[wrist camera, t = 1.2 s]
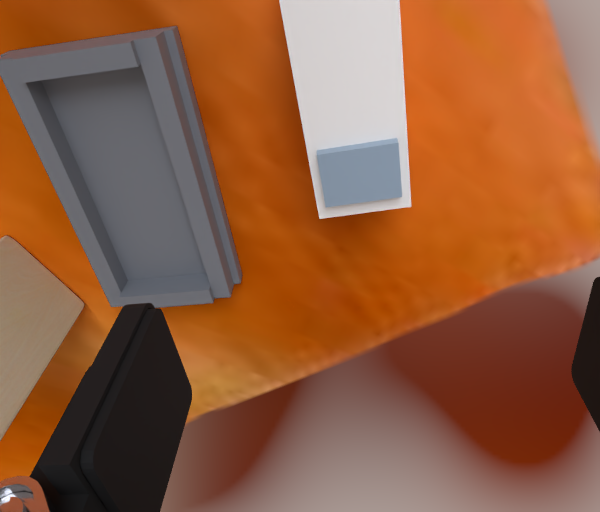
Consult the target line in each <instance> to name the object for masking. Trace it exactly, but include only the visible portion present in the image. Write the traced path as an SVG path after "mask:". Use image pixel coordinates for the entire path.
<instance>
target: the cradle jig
mask: <svg viewBox="0 0 600 512" xmlns="http://www.w3.org/2000/svg"><path fill="white" fill-rule="evenodd" d="M0 56H1V58H0V76H1V78H2V80H3V82H4V84H5V86H6V88H7V90H8V92H9V94H10V96H11V99H12V101H13V103H14V105H15V107H16V109H17V111H18V113H19V115H20V117H21V119H22V122H23V124H24V126H25V128H26V130H27V132H28V134H29V136H30V138H31V140H32V142H33V145H34V147H35V149H36V151H37V153H38V155H39V157H40V159H41V161H42V163H43V165H44V167H45V170H46V172H47V174H48V176H49V178H50V180H51V182H52V184H53V186H54V188H55V190H56V193H57V195H58V197H59V199H60V201H61V203H62V205H63V207H64V209H65V211H66V213H67V216H68V218H69V220H70V222H71V224H72V226H73V228H74V230H75V232H76V234H77V236H78V239H79V241H80V243H81V245H82V247H83V249H84V251H85V253H86V255H87V257H88V259H89V262H90V264H91V266H92V268H93V270H94V272H95V274H96V276H97V278H98V280H99V282H100V285H101V287H102V289H103V291H104V293H105V295H106V297H107V299H108V301H109V303H110V305H111V307H118V306H123V307H124V306H125V305H127V304H140V303H152V304H153V305H154V307H155V308H159V307H171V306H183V305H195V304H207V303H213V302H214V298H226V297H231V294H232V290H233V286H234V284H239V283H241V279H242V272H241V268H240V264H239V260H238V256H237V253H236V249H235V245H234V241H233V237H232V233H231V230H230V226H229V222H228V218H227V214H226V211H225V207H224V203H223V199H222V195H221V191H220V188H219V184H218V180H217V176H216V172H215V169H214V165H213V161H212V157H211V153H210V150H209V146H208V142H207V138H206V134H205V130H204V127H203V123H202V119H201V115H200V111H199V108H198V104H197V100H196V96H195V92H194V88H193V85H192V81H191V77H190V73H189V69H188V66H187V62H186V58H185V54H184V50H183V46H182V43H181V39H180V35H179V31H178V27H177V26H172V27H166V28H159V29H152V30H146V31H139V32H132V33H126V34H119V35H112V36H106V37H99V38H92V39H85V40H79V41H72V42H65V43H59V44H52V45H45V46H39V47H32V48H25V49H19V50H12V51H8V52H6V53H4V54H1V55H0Z"/></svg>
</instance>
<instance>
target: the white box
mask: <svg viewBox="0 0 600 512" xmlns="http://www.w3.org/2000/svg"><path fill="white" fill-rule="evenodd" d="M279 2H280V8H281V13H282V19H283V24H284V29H285V35H286V40H287V46H288V51H289V57H290V62H291V67H292V73H293V78H294V84H295V89H296V95H297V100H298V106H299V111H300V116H301V122H302V127H303V133H304V138H305V144H306V149H307V154H308V160H309V165H310V171H311V176H312V182H313V187H314V193H315V198H316V203H317V209H318V214H319V219H323V218H331V217H338V216H345V215H353V214H360V213H368V212H375V211H383V210H390V209H397V208H405V207H411V192H410V175H409V157H408V140H407V123H406V106H405V88H404V71H403V54H402V36H401V19H400V2H399V0H279Z"/></svg>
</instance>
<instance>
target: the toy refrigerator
mask: <svg viewBox="0 0 600 512" xmlns="http://www.w3.org/2000/svg"><path fill="white" fill-rule="evenodd" d="M83 308H84V303H83V302H82V301H81V299H80V298H78V297H77V296H76V295H75V294H74V293H73V292H72V291H71V290H70V289H69V288H68V287H66V286H65V285H64V284H63V283H62V282H61V281H60V280H59V279H58V278H57V277H55V276H54V275H53V274H52V273H51V272H50V271H49V270H48V269H47V268H45V267H44V266H43V265H42V264H41V263H40V262H39V261H38V260H36V259H35V258H34V257H33V256H32V255H31V254H30V253H29V252H28V251H27V250H25V249H24V248H23V247H22V246H21V245H20V244H19V243H18V242H16V241H15V240H14V239H13V238H11V237H9V236H4V237H2V238H1V239H0V441H1V439H2V438H3V436H4V434H5V433H6V431H7V429H8V428H9V426H10V425H11V423H12V421H13V420H14V418H15V417H16V415H17V413H18V412H19V410H20V409H21V407H22V405H23V404H24V402H25V401H26V399H27V397H28V396H29V394H30V393H31V391H32V389H33V388H34V386H35V385H36V383H37V381H38V380H39V378H40V377H41V375H42V373H43V372H44V370H45V369H46V367H47V365H48V364H49V362H50V361H51V359H52V357H53V356H54V354H55V353H56V351H57V350H58V348H59V346H60V345H61V343H62V342H63V340H64V338H65V337H66V335H67V333H68V332H69V330H70V329H71V327H72V326H73V324H74V322H75V321H76V319H77V317H78V316H79V314H80V313H81V311H82V309H83Z"/></svg>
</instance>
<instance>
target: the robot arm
mask: <svg viewBox="0 0 600 512" xmlns="http://www.w3.org/2000/svg"><path fill="white" fill-rule="evenodd" d="M572 378H573V381H574V383H575V385H576V388H577V390H578V391H579V393H580V395H581V397H582V399H583V401H584V403H585V405H586V407H587V408H588V410H589V412H590V414H591V416H592V418H593V420H594V422H595V423H596V425H597V427H598V429H599V431H600V277H597V278H596V279H595V280H594V282H593V286H592V290H591V294H590V298H589V302H588V305H587V309H586V313H585V317H584V321H583V325H582V329H581V332H580V336H579V340H578V344H577V348H576V352H575V356H574V360H573V364H572ZM191 400H192V389H191V385H190V383H189V380H188V377H187V375H186V372H185V369H184V367H183V364H182V362H181V359H180V356H179V354H178V351H177V348H176V346H175V343H174V341H173V338H172V335H171V333H170V330H169V327H168V325H167V322H166V320H165V317H164V314H163V312H162V310H161V309H155V307H154V305H153V304H152V303H140V304H127V305H125V306H124V307H123V308H122V310H121V312H120V313H119V315H118V317H117V319H116V321H115V323H114V325H113V327H112V328H111V330H110V332H109V334H108V336H107V338H106V340H105V342H104V343H103V345H102V347H101V349H100V351H99V353H98V355H97V357H96V358H95V360H94V362H93V364H92V366H90V367H89V369H88V370H87V371H86V373H85V375H84V377H83V378H82V380H81V382H80V384H79V386H78V388H77V390H76V391H75V393H74V395H73V397H72V399H71V401H70V403H69V404H68V406H67V408H66V410H65V412H64V414H63V416H62V417H61V419H60V421H59V423H58V425H57V427H56V429H55V431H54V432H53V434H52V436H51V438H50V440H49V442H48V444H47V445H46V447H45V449H44V451H43V453H42V455H41V457H40V458H39V460H38V462H37V464H36V466H35V468H34V470H33V471H32V473H31V475H30V477H25V476H17V477H13V478H9V479H5V480H3V481H1V482H0V512H160V509H161V506H162V502H163V499H164V495H165V492H166V488H167V485H168V481H169V478H170V474H171V471H172V467H173V464H174V461H175V457H176V454H177V450H178V447H179V443H180V440H181V436H182V432H183V429H184V426H185V422H186V419H187V415H188V412H189V408H190V405H191Z"/></svg>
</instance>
